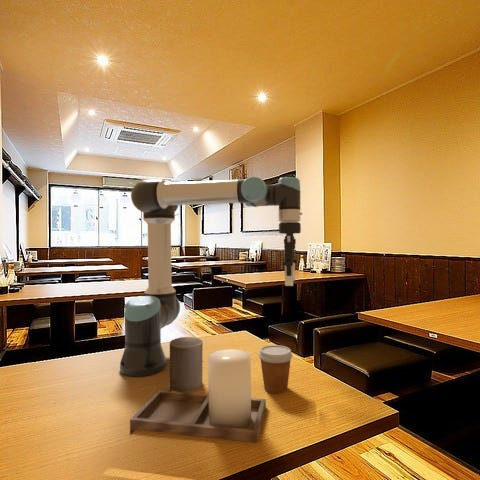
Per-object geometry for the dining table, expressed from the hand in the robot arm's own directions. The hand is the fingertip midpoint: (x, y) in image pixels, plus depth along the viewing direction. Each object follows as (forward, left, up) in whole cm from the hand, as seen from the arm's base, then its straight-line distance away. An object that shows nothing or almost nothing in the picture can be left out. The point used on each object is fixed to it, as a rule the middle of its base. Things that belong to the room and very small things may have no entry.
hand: (290, 283), depth 117 cm
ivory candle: (-12, -42, -27) cm, 51 cm away
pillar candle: (-29, -25, -28) cm, 48 cm away
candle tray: (-19, -42, -28) cm, 54 cm away
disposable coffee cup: (-3, -23, -28) cm, 37 cm away
